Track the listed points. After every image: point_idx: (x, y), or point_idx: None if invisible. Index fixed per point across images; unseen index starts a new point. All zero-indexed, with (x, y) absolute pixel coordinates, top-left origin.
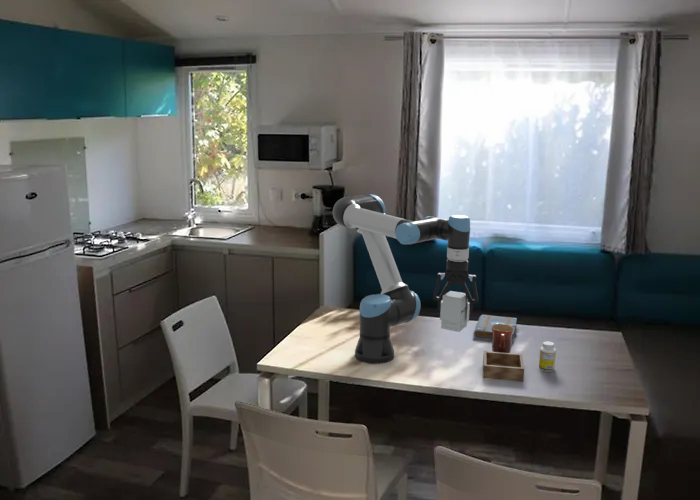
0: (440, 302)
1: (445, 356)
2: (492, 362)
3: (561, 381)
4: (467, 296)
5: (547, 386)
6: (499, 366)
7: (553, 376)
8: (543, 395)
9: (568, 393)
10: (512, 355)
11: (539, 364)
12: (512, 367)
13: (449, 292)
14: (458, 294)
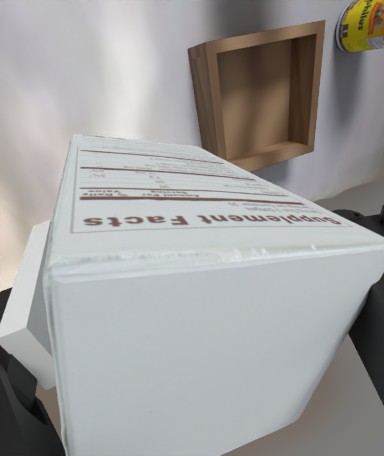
0: (31, 379)
1: (32, 25)
2: (220, 53)
3: (360, 103)
4: (359, 336)
5: (329, 146)
6: (259, 166)
7: (352, 77)
8: (314, 192)
9: (355, 161)
10: (294, 37)
11: (345, 32)
12: (288, 156)
13: (103, 396)
14: (272, 373)
